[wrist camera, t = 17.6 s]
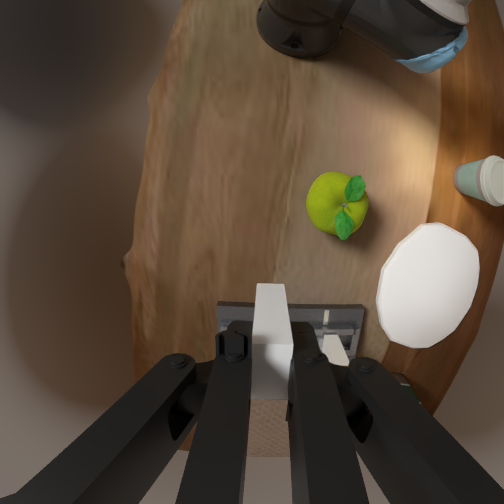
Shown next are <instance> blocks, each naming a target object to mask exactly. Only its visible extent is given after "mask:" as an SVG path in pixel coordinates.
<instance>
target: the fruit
mask: <svg viewBox="0 0 504 504" xmlns="http://www.w3.org/2000/svg"><path fill="white" fill-rule="evenodd" d="M365 187H366V184H365V182H364V180H363V178H362V177H361V175H360V176H354V177H351V176H349V175H347V174H344V173H341V172H328V173H324V174H322V175H321V176H319V177H318V178H317V179H316V180H315V181H314V183H313V184H312V186H311V188H310V190H309V193H308V196H307V200H306V208H307V212H308V215H309V217H310V219H311V221H312V223H313V224H314V226H315V227H316V228H317V229H319V230H321V231H323V232H327V233H330V234H333V235H337V236H339V238H340V239H341V240H346V239H347V238H348V237H349V235H350V234H351V233H353V232H355V231H356V230H357V229H358V228H359V227H360V226H361V225H362V223H363V221H364V218H365V215H366V213H367V210H368V205H369V200H368V196H367V193H366V192H365Z"/></svg>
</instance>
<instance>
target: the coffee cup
mask: <svg viewBox="0 0 504 504" xmlns="http://www.w3.org/2000/svg"><path fill="white" fill-rule="evenodd" d="M454 184H455V187H456V189H457V190H458V191H459V192H460V193H462V194H465V195H468V196H471V197H474V198H477V199H480V200H483V201H486V202H489V203H490V204H491V205H493V206H502V205H504V159H502V158H500V157H498V156H489V157H488V158H487V159H483V160H479V161H474V162H470V163H466V164H462V165H459V166H458V167H457V168H456V169H455V172H454Z"/></svg>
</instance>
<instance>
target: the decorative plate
mask: <svg viewBox="0 0 504 504" xmlns="http://www.w3.org/2000/svg"><path fill="white" fill-rule="evenodd" d="M479 268H480V267H479V257H478V251H477V249H476V248H475V246H474V245H473V244H472V243H471V242H470V240H469V239H468V238H467V237H466V236H465V235H463V234H461V233H460V232H458V231H456V230H454V229H452V228H450V227H448V226H446V225H444V224H442V223H439V222H436V223H426V224H421V225H420V226H418V227H417V228H416V229H415V230H414V231H413V232H411V233H410V234H409V235H408V236H407V237H405V238H404V239H403V240H402V241H401V242H399V243H398V244H397V246H396V247H395V249H394V250H393V252H392V253H391V255H390V256H389V258H388V259H387V261H386V262H385V264H384V265H383V267H382V268H381V274H380V279H379V285H378V290H377V296H376V305H377V311H378V317H379V323H380V325H381V327H382V328H383V330H384V331H385V333H386V334H387V336H388V337H389V339H390V340H391V341H394V342H396V343H399V344H402V345H405V346H407V347H410V348H429V347H430V346H432V345H434V344H436V343H437V342H439V341H441V340H443V339H444V338H445V337H447V336H448V335H449V334H450V333H452V332H453V331H454V330H455V329H456V328H457V326H458V325H459V323H460V322H461V320H462V319H463V317H464V316H465V314H466V313H467V311H468V310H469V308H470V306H471V304H472V301H473V298H474V295H475V292H476V289H477V286H478V277H479Z"/></svg>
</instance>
